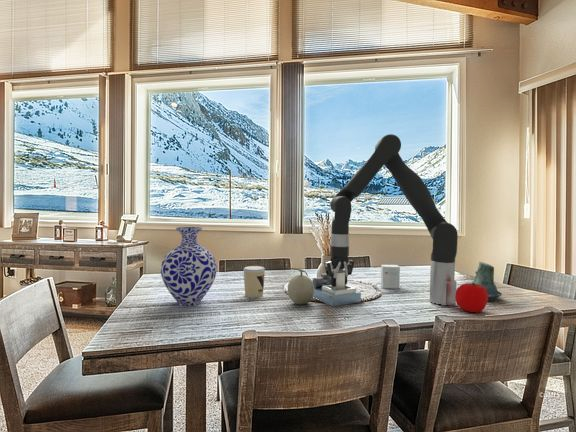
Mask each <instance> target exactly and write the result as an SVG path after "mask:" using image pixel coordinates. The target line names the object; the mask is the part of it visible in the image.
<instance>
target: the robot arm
mask: <svg viewBox="0 0 576 432" xmlns="http://www.w3.org/2000/svg"><path fill="white" fill-rule="evenodd" d="M374 147H375V148H374V152H372V154H371V155H370V157H369V158H368V159H367V161H366V162H365V163H364V164H363V165H362V166H361V167H360V168H359V169H358V170H357V171H356V172H355V173H354V175H352V177H351V178H350V179H349V180H348V182H347V183H346V185H345V186H344V187H343V188H341V189H340V190H339V191H338V192H337V193H336V194H335V195H334V197H333V198H332V199H331V201H330V204H329V206H330V209H331V211H332V212H334V218H333V220H332V222H331V235H330V260H329V261H324V269H325V270H324V271H325V272H326V274H327V276H330V277H331V285H332V286H333V287H336V275H337V273H338V271H339V270H340V269H342V270H343V272H345V286H346V285H348V277H349V276H351V275H352V274H353V270H354V265H355V261H354V260H352V259H349V257H350V256H349V255H350V236H349V233H350V232H349V228H350V225H349V223H350V219H351V214H352V202H353V200H355V199H357V198H359V196H361V194H362V193H363V192H364V191H365V190H366V188H367V187H368V186H369V184H370V183H371V182H372V180H373V179H374V178H375V176H376V175H377V174H378V173H379V171H381V169H382V168H383V167H384V166H385V167H386V169H387V170H388V172H389V173H390V174H391V176H392V177H393V180H394V181H395V183H396V184H397V186H398V187H399V189H400V190H401V192H402V194H403V195H404V197H405V198H406V199H407V200H406V201H408V202H409V204H410V206H411V207H412V208H413V210H415V212H416V213H417V214H418V215H419V217H420V218H421V220H422V221H423V223H424V225H425V227H426V228H427V231H428V232H429V235H430V237H431V239H432V251H431V254H430V278H429V302H430V303H431V302H432V304H434V303H436V304H435V305H438V304H441V305H440V306H444V305H449V306H454V305H457V303H456V300H455V295H456V290H457V284H458V283H457V281H456V280H455V278H456V277H455V275H456V274H455V273H456V272H455V271H456V269H455V268H456V256H457V254H458V253H457V252H458V238H459V237H458V236H459V235H458V230H457V228H456V226H455V225H453V224H452V223H450V222H447V220H446V219H445V218H444V217H443V215H442V214H441V213H440V211H439V210H438V208H437V205H436V204H435V201H434V199H433V196H432V193H431V191H430V190H429V188H428V186H427V185H426V183H425V182H424V181H423V179H422V178H421V176H419V175H418V174H417V172H415V171H414V170H412V168H410V167H409V166H408V165H407V164H406V163H405V162H404V160H403V159H402V157H401V155H400V151H401V148H402V141H401V139H400V138H399V136H397V135H395V134H391V133H389V134H386V135H384V136H382V137H381V138H380V139H379V140H378V141H377V143H376V144H375V146H374Z"/></svg>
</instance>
